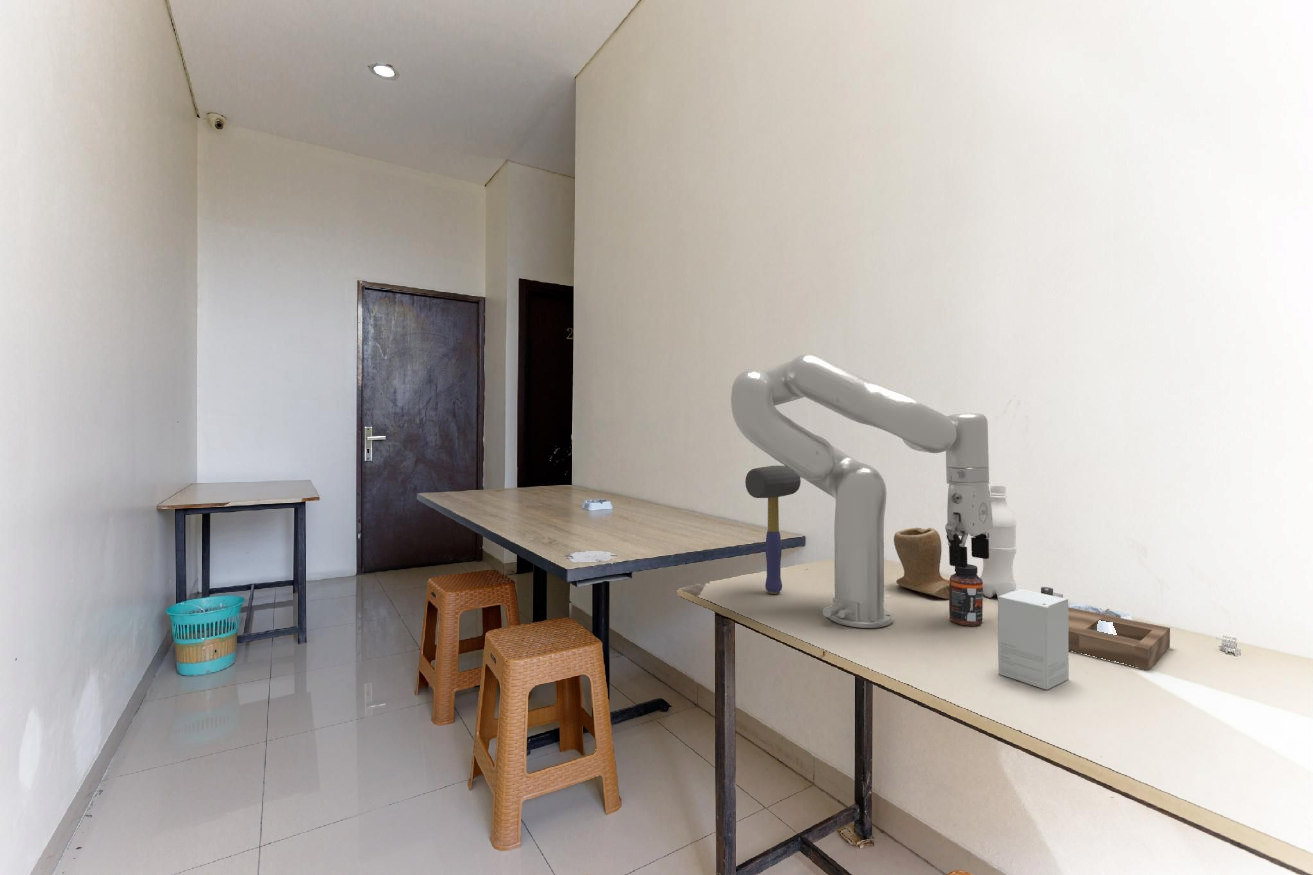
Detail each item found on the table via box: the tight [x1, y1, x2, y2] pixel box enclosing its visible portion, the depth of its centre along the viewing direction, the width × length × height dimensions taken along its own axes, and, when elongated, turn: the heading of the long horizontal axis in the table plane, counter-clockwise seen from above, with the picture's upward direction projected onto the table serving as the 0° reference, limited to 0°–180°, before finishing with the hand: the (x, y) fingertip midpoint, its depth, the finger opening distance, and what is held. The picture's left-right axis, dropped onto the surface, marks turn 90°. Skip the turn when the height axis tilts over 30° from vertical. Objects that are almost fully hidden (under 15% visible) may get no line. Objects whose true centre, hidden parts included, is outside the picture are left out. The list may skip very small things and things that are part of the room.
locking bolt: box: [1040, 586, 1064, 598], centre depth 117 cm, size 8×3×4 cm, turn 129°
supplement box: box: [997, 588, 1070, 691], centre depth 94 cm, size 7×7×13 cm
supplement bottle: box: [948, 563, 984, 627], centre depth 119 cm, size 6×6×11 cm
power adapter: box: [1215, 635, 1242, 657], centre depth 102 cm, size 3×3×3 cm
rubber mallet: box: [744, 465, 802, 595], centre depth 140 cm, size 12×8×30 cm, turn 125°
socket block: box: [1068, 606, 1171, 671], centre depth 109 cm, size 15×22×4 cm
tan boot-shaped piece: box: [893, 527, 950, 600], centre depth 139 cm, size 15×12×15 cm
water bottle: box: [980, 485, 1017, 598], centre depth 136 cm, size 7×7×25 cm
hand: (969, 562), depth 119 cm, fingers open, 9 cm apart
